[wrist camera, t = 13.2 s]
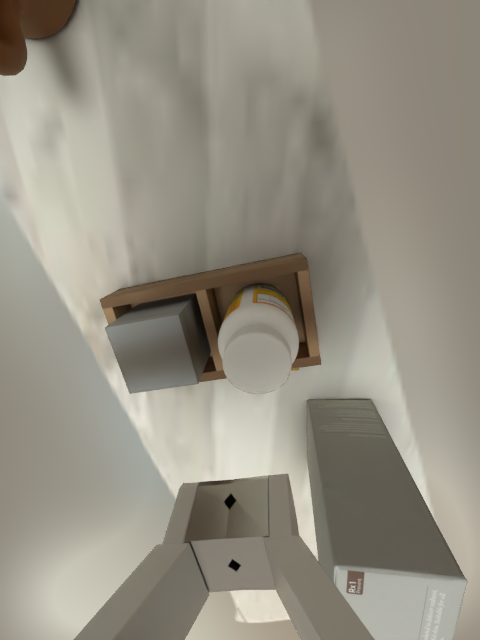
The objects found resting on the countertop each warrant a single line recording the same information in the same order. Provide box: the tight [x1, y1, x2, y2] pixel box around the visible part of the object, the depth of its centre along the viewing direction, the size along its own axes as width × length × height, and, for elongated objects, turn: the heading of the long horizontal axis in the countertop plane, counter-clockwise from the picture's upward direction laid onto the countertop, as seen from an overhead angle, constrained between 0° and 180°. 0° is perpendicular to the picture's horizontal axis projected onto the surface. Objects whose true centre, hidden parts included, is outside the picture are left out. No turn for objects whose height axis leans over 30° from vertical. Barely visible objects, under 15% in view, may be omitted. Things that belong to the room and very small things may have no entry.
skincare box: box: [307, 400, 467, 640], centre depth 23 cm, size 8×7×16 cm
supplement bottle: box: [218, 283, 299, 394], centre depth 21 cm, size 5×5×10 cm
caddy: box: [100, 253, 321, 394], centre depth 24 cm, size 9×16×7 cm, turn 102°
